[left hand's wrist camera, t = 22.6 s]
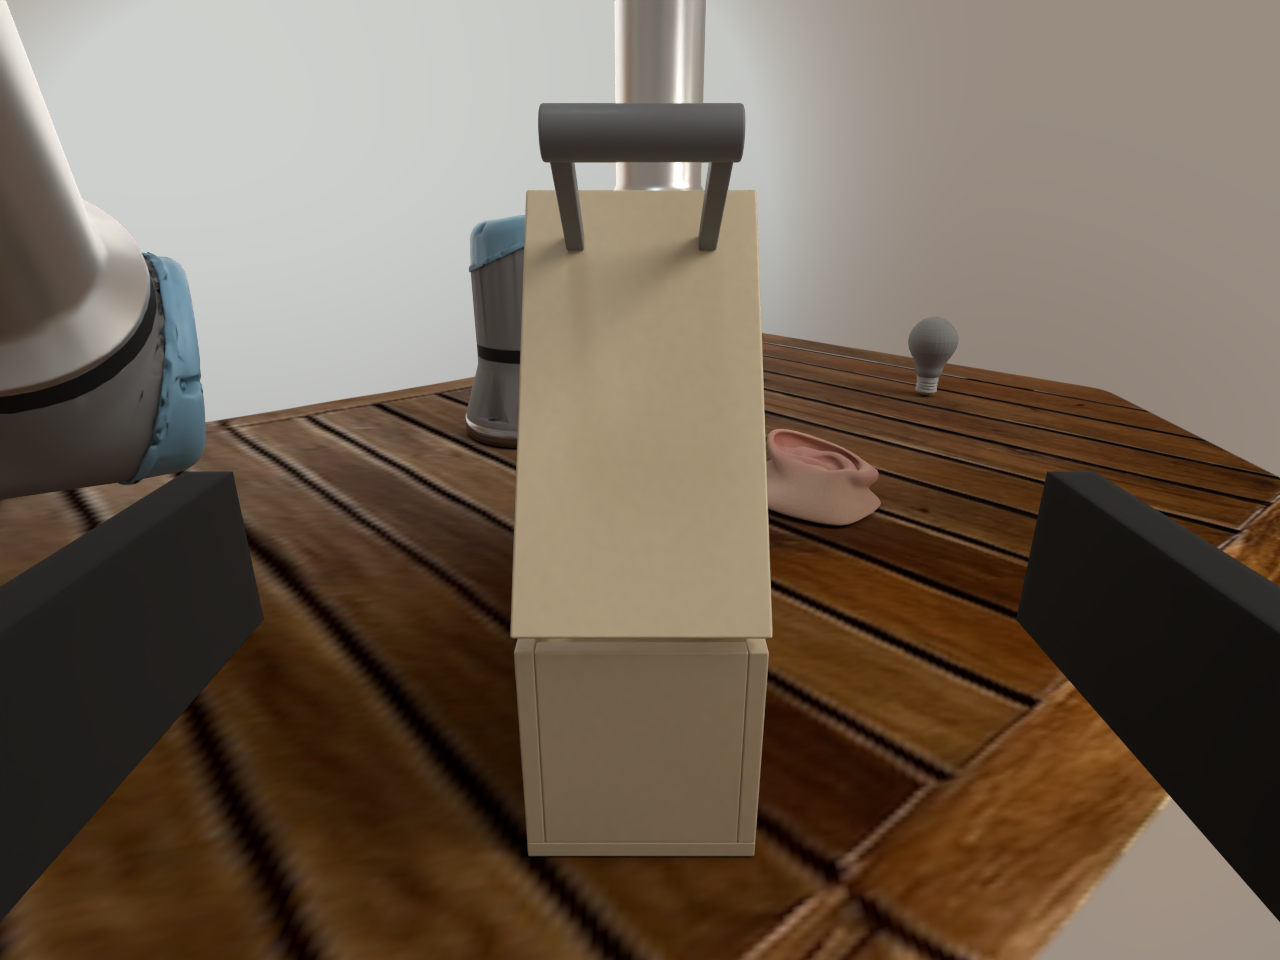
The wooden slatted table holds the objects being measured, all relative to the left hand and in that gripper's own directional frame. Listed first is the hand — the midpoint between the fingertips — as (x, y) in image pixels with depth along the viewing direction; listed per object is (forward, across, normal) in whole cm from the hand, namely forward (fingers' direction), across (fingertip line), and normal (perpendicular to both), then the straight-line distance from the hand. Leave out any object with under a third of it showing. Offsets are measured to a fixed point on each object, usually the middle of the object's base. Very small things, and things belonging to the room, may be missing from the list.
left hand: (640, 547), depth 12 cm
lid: (+17, 0, -2) cm, 17 cm away
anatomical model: (+51, +15, -20) cm, 57 cm away
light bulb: (+86, +38, -20) cm, 96 cm away
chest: (+20, 0, -20) cm, 28 cm away
